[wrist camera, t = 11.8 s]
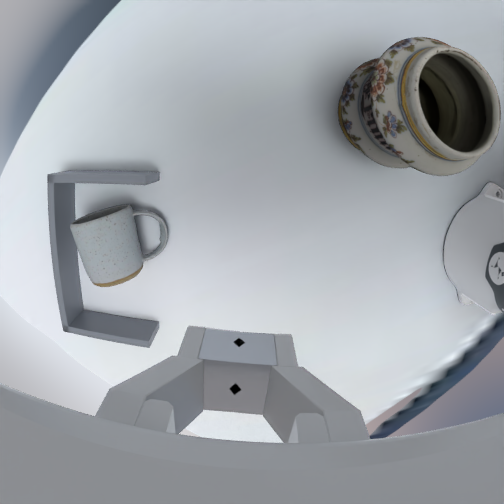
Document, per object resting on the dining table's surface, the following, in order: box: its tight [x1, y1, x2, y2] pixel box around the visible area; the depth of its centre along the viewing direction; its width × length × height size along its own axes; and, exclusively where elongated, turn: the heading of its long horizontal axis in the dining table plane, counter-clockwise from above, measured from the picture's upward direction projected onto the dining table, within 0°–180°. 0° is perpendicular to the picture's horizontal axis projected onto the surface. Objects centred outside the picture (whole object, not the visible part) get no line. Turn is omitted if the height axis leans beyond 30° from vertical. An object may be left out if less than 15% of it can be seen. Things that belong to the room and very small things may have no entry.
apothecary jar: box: [338, 37, 501, 176], centre depth 25 cm, size 12×12×18 cm
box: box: [48, 171, 159, 348], centre depth 37 cm, size 13×21×5 cm, turn 175°
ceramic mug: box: [70, 204, 168, 287], centre depth 35 cm, size 11×8×8 cm
